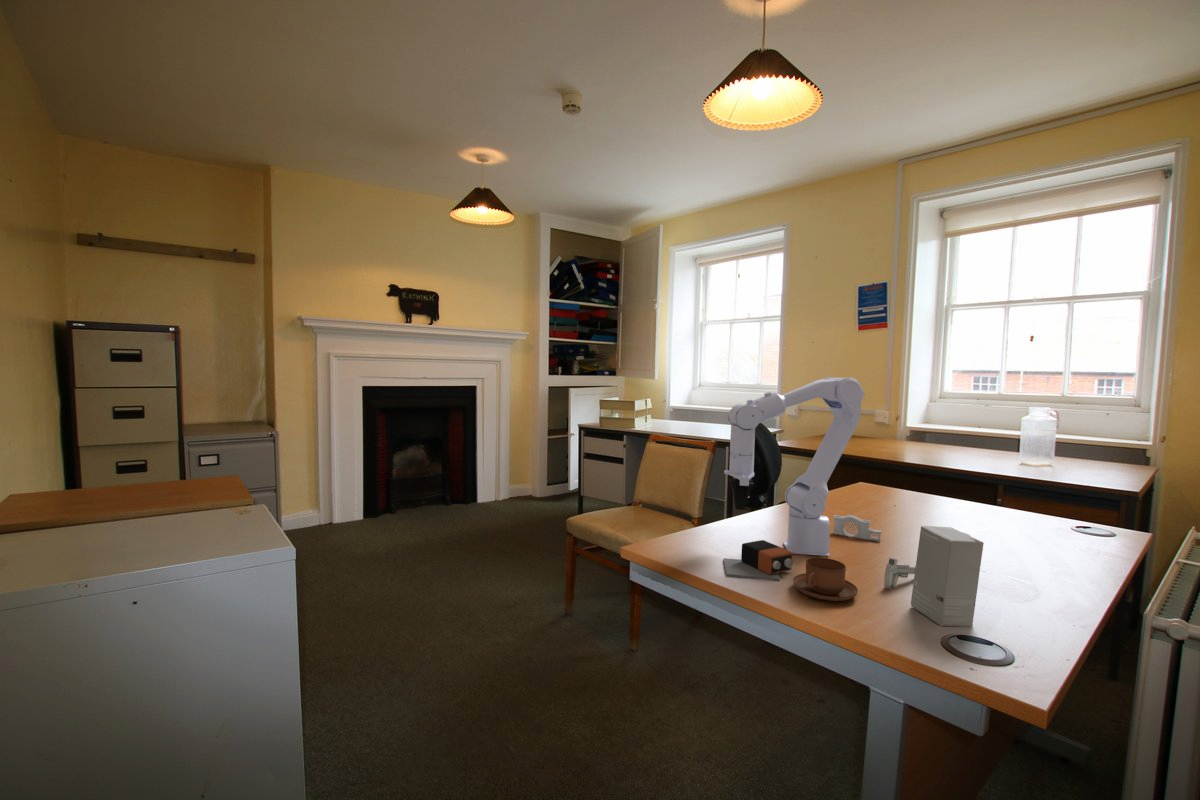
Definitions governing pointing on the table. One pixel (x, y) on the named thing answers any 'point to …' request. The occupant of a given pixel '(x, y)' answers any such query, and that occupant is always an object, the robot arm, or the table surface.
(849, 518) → the garden wall model
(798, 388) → the robot arm
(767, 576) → the mat
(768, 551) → the battery
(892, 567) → the caliper
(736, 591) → the table surface
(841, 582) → the cup and saucer
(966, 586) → the skincare box
